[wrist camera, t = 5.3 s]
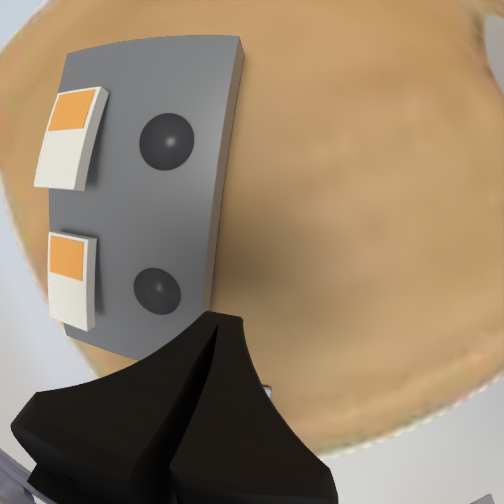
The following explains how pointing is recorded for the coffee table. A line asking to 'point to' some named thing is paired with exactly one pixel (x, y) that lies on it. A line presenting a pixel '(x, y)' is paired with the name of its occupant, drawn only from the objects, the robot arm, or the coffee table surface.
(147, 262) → the grey switch panel
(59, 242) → the rocker
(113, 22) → the coffee table surface
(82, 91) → the rocker
